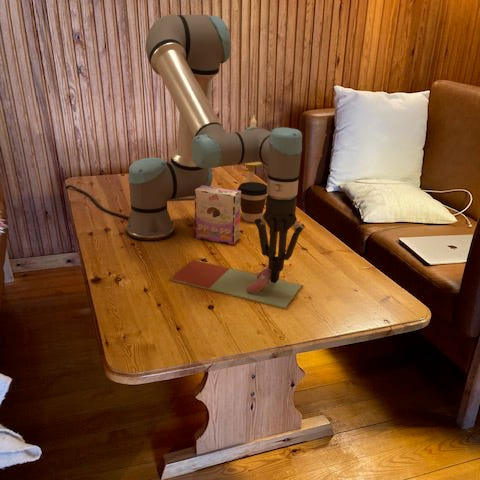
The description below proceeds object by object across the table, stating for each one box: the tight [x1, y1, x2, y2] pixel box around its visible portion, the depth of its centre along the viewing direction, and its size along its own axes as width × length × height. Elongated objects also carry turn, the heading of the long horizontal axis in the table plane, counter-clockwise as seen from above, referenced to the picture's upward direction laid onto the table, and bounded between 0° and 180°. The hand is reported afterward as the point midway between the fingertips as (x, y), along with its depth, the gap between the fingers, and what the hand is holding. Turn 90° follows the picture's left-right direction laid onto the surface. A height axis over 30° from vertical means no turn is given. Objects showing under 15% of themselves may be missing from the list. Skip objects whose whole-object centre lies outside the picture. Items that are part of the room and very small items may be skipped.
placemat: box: [169, 259, 303, 310], centre depth 148 cm, size 34×14×1 cm, turn 67°
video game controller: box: [246, 266, 271, 293], centre depth 144 cm, size 10×5×7 cm, turn 159°
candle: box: [242, 114, 264, 182], centre depth 198 cm, size 10×10×32 cm
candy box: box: [194, 185, 241, 246], centre depth 170 cm, size 14×6×16 cm, turn 69°
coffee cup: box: [237, 181, 268, 223], centre depth 188 cm, size 11×11×12 cm
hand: (274, 280), depth 143 cm, fingers closed
